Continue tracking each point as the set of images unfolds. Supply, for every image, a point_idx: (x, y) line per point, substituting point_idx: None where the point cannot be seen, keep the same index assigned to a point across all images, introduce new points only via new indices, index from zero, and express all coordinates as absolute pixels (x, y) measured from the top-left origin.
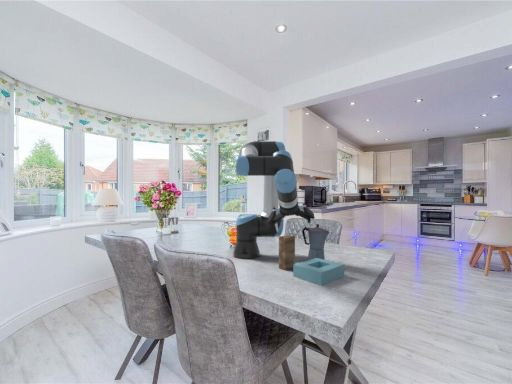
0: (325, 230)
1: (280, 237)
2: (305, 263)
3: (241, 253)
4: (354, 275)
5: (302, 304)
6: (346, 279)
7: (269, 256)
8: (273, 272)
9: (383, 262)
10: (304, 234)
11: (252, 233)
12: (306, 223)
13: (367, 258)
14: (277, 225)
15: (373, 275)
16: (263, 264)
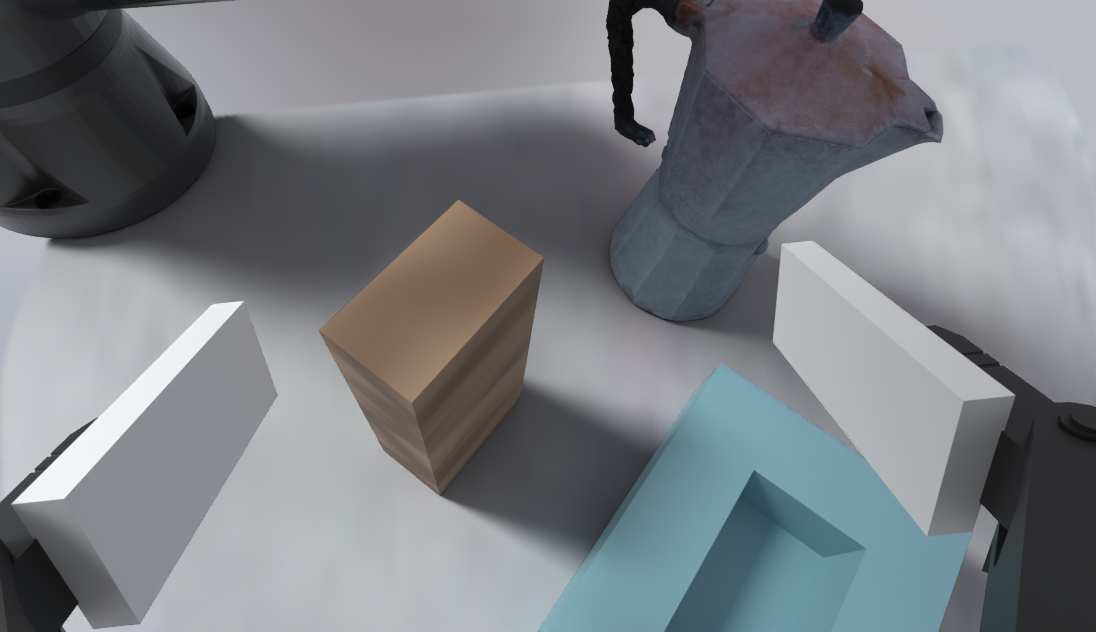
0: (910, 103)
1: (345, 352)
2: (641, 585)
3: (8, 205)
4: None
5: None
6: None
7: (302, 148)
8: (336, 582)
9: (1081, 185)
10: (628, 50)
11: (2, 7)
12: (861, 444)
13: (979, 117)
14: (220, 360)
15: None
16: None
